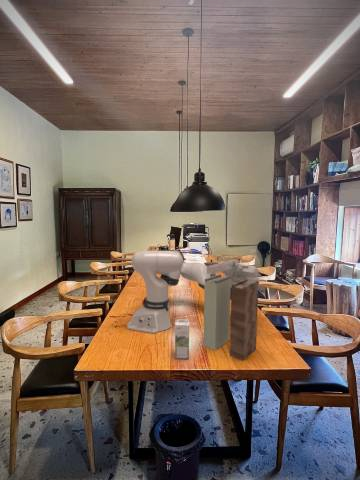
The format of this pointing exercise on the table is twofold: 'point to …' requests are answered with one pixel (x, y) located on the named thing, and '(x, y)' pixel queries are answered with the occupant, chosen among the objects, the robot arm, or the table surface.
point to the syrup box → (181, 339)
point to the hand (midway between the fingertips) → (231, 263)
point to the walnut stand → (243, 319)
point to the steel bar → (221, 267)
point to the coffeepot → (209, 265)
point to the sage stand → (216, 311)
